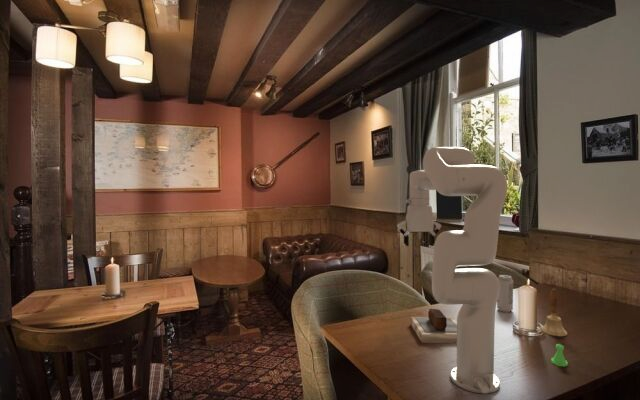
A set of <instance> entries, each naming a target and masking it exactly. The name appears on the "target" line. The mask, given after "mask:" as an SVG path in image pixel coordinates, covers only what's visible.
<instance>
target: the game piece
mask: <svg viewBox="0 0 640 400" xmlns="http://www.w3.org/2000/svg"><path fill="white" fill-rule="evenodd" d="M564 348H565V346H564V345H563V344H561V343H556V344H555V349H556V353H555V354H554V356H553V357H551V359H550V361H551V363H552V364H553V365H556V366H557V367H564V368H565V367H568V365H569V363H568V361H567V360H566V359H565V356H564V354H563V351H564Z"/></svg>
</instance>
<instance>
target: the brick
mask: <svg viewBox="0 0 640 400" xmlns="http://www.w3.org/2000/svg"><path fill="white" fill-rule="evenodd" d="M427 314H428V316H427V317H428V318H429V320H430V322H431V324H432V325H433V327H434V328H435V330H445V329H446V327H447V319H446V317H447V316H446V315H444V313H443V312H442V311H441V310H440V309H439V308H429V309H428V312H427Z"/></svg>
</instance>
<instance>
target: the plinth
mask: <svg viewBox="0 0 640 400" xmlns="http://www.w3.org/2000/svg"><path fill="white" fill-rule="evenodd" d="M445 317H446V319H447V327H446V329H445V330H435V328H434V327H433V325H432V324H431V322H430V320H429V318H428V316H411V317H410V325H411V327H412V329H413V330H414V331H415V334H416V335H417V337H418V338H419V341H421V343H422V344H423V343H424V344H434V343H435V344H438V343H440V344H445V343H446V344H447V343H449V344H450V343H452V344H455V343H456V344H457V319H455V318H454V317H453V316H445Z"/></svg>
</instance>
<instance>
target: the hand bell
mask: <svg viewBox="0 0 640 400" xmlns="http://www.w3.org/2000/svg"><path fill="white" fill-rule="evenodd" d="M549 301H550V304H551V309H550V312H551V314H550V315H547V316H546V321H545V323H544V325H542V327H541V328H540V331H541V330H542V331H543V332H542V331H541V332H542V333H544V334H545V335H549V336H552V337H566V336H568V332H567V330H565V328H564V326H563V323H562V318H561V317H560V316H558V315H557V314H558V311H557V305H558V303H559V295H558V292H557V289H556V288H552V289H551V290H550V294H549Z"/></svg>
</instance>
